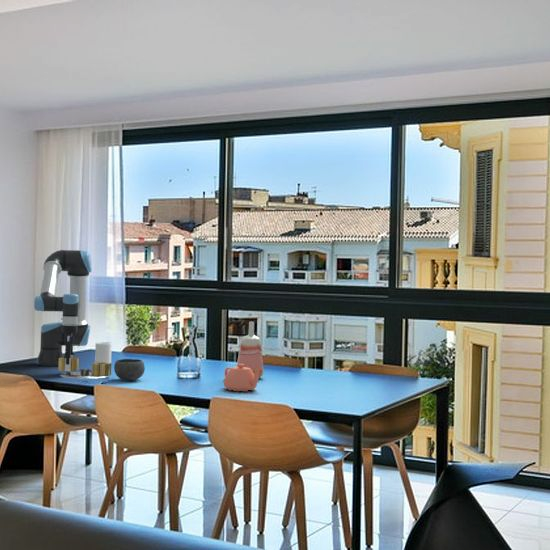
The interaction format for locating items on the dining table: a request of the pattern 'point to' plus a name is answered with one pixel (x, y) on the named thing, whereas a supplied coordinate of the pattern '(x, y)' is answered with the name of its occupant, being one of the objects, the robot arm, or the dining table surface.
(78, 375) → the carrier
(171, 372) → the dining table surface
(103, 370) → the seated gear
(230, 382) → the teapot
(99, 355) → the cup
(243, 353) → the pink squeeze bottle
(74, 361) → the gear
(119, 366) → the bowl
